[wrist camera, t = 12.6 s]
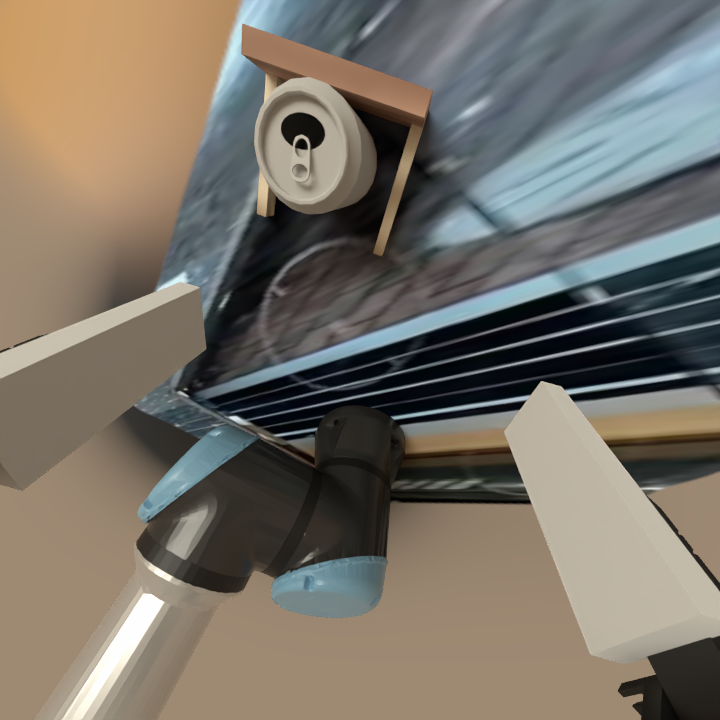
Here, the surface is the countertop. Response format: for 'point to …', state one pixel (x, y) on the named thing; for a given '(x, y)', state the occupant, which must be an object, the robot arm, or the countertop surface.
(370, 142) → the can
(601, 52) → the countertop surface
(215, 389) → the countertop surface
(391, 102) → the wooden bracket
